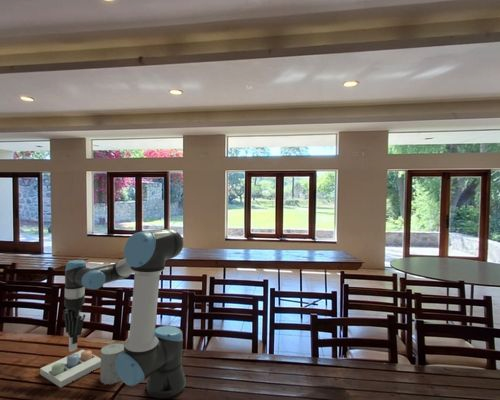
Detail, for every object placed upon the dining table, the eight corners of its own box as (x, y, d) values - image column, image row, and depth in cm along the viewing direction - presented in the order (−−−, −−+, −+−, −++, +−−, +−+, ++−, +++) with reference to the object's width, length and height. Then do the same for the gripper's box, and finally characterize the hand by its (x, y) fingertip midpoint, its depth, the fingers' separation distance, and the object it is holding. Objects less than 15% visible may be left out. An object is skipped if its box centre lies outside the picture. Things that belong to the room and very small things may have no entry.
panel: (103, 365, 130) (103, 359, 130) (60, 387, 114) (60, 381, 114) (82, 354, 138) (82, 349, 138) (40, 374, 122) (40, 368, 122)
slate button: (80, 365, 127) (80, 355, 127) (70, 370, 123) (70, 360, 123) (75, 362, 129) (75, 352, 129) (64, 367, 125) (64, 357, 125)
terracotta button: (93, 361, 132) (94, 352, 132) (84, 366, 128) (84, 356, 128) (88, 358, 134) (88, 349, 134) (78, 363, 130) (78, 353, 130)
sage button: (66, 375, 121) (66, 364, 121) (55, 381, 118) (55, 370, 118) (60, 372, 124) (60, 361, 124) (49, 377, 120) (49, 366, 120)
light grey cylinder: (129, 371, 126) (130, 343, 126) (117, 385, 116) (118, 355, 116) (108, 369, 127) (109, 341, 127) (94, 383, 117) (95, 353, 117)
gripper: (92, 297, 126) (90, 350, 126) (75, 291, 132) (73, 342, 132) (74, 302, 119) (72, 358, 119) (57, 295, 125) (55, 349, 126)
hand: (72, 350), depth 126 cm, fingers closed
